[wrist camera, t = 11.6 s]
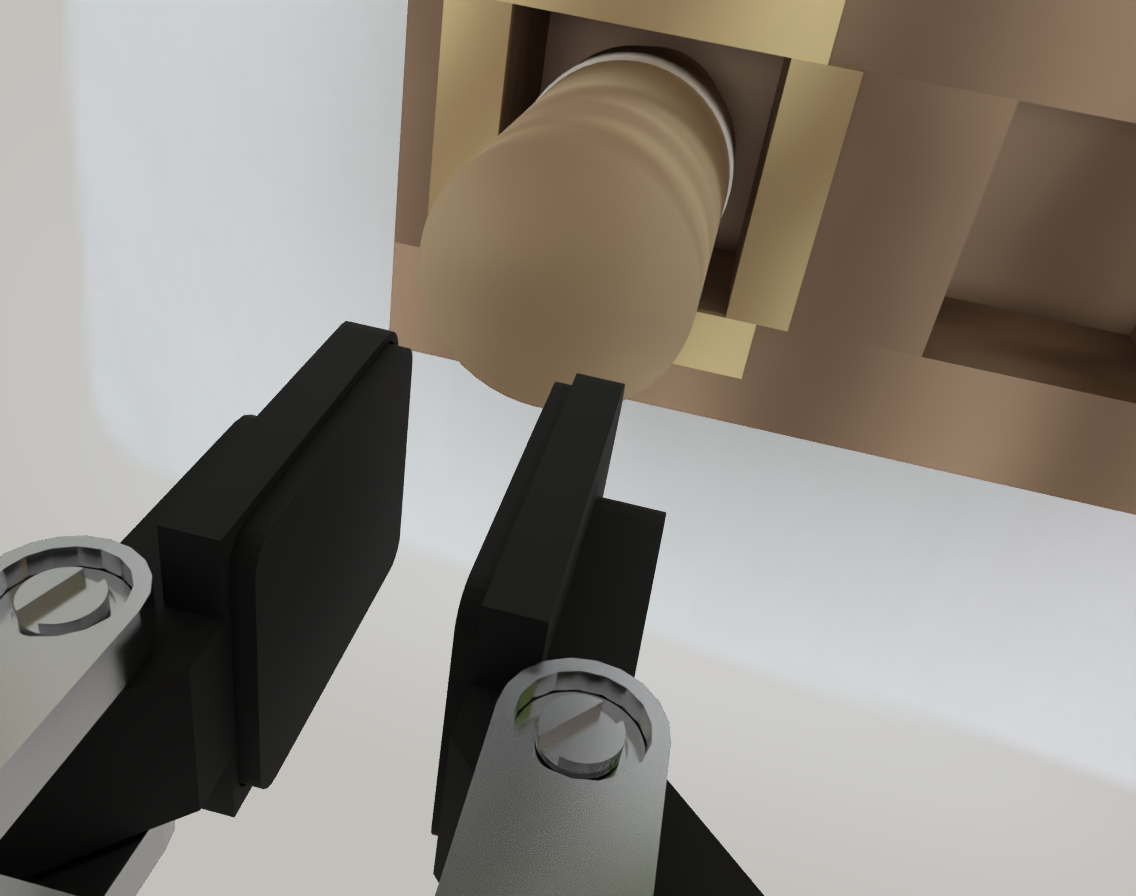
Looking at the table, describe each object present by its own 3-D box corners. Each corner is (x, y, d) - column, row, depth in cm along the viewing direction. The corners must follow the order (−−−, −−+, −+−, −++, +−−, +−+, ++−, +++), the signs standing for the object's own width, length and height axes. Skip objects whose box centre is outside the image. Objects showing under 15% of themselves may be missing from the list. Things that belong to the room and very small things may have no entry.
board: (1396, -10, 22) (1547, 31, 17) (1158, 426, 28) (1225, 539, 23) (487, -174, 23) (414, -174, 19) (447, 270, 29) (385, 348, 25)
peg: (766, 40, 23) (732, 170, 14) (723, 226, 26) (670, 440, 17) (577, 5, 24) (425, 107, 15) (552, 190, 26) (408, 379, 17)
